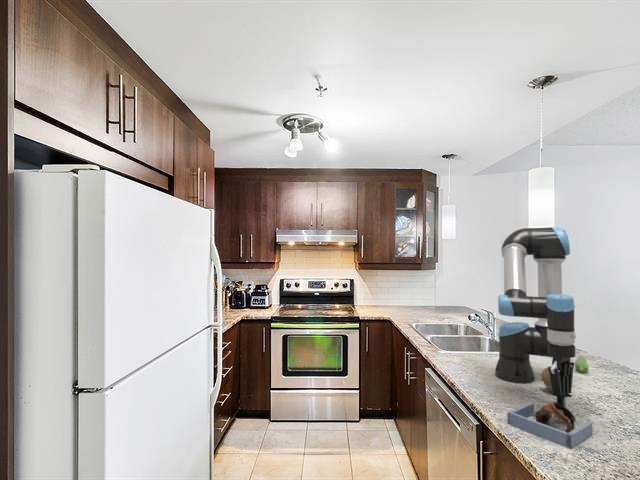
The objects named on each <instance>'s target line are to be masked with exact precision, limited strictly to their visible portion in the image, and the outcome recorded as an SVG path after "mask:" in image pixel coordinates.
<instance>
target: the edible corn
mask: <svg viewBox="0 0 640 480" xmlns="http://www.w3.org/2000/svg"><path fill="white" fill-rule="evenodd" d="M588 364H589V363H588V361H587V359H586V358H585V357H584V356H583V355H580V356H579V357H578V358H577V359H576V361H575V362H574V368H575V370H576V371H577V372H578V373H581V374H585V373H587V371H588V370H589V365H588Z"/></svg>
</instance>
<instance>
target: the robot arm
mask: <svg viewBox="0 0 640 480" xmlns="http://www.w3.org/2000/svg"><path fill="white" fill-rule="evenodd" d="M569 255H571V247H570V240H569V237H568V233H567V231H566V229H564V227H552V226H551V227H531V228H528V227H525V228H519V229H517V230H515V231H513V232H512V233H511V234H509V235H507V237H506V238H505V240H504V241H503V243H502V246H501V256H502V258H503V263H504V264H503V266H504V267H503V271H504V272H503V284H504V285H503V294H500V295H498V298H497V300H498V301H497V303H498V307H497V308H498V314H499V315H501V316H503V317H504V316H506V317H517V318H519V317H520V318H530V319H531V318H533V319H537V320H536V321H535V322H534V326H530V324H529V323H527V322H523V321H522V322H521V321H520V322H519V321H517V322H516V321H515V322H506V323H503V324H500V325H499V327H498V337H499V338H498V345H499V347H498V349H499V350H498V352H499V356H498V361H497V362H496V366H495V369H494V370H495V371H494V373H495V374H494V375H495V377H497V378H498V379H499V380H504V381H506V382H510V383H515V384H516V383H518V384H529V383H534V382H535V380H536V379H535V378H536V377H535V373H534V370H533V366H532V364H531V361H530V360H531V359H530V356H535V357H536V356H537V357H545V358H546V357H547V358H552V360H551V366H552V367H550V366H548V371H549V373H550V379H551V386H552V392H551V393H552V396H555V397H556V403H559V404H561V405H563V406H564V407H566V408H567V409H568V410H569V398H571V397H572V388H573V376H574V375H573V374H574V368H575V362H573V361H571V359H572V358H575V357H576V345H575V343H576V338H577V335H576V334H575V332H576V331H575V330H576V329H575V308H576V305H575V300H574V297H573V296H571V295H569V294H563V282H562V281H563V279H562V274H563V273H562V272H563V271H562V263H564V262H565V260H566V258H567V257H566V256H569ZM527 256H533V257H532V259H533V260H534V262H536V264H537V294H538V296H532V295H531V296H528V295H527V277H526V261H525V258H526V257H527ZM558 411H559V412H560V413H562V414H563V415H564V413H563V410H558ZM566 417H567V416H566Z"/></svg>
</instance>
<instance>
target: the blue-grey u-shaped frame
mask: <svg viewBox="0 0 640 480" xmlns="http://www.w3.org/2000/svg"><path fill="white" fill-rule="evenodd" d="M506 413H507V414H506V415H507V417H506V418H507V425H509V426H512V427H515V428H518V429H520V430H523V431H524V432H528V433H531V434H533V435H535V436H538V437H541V438H543V439H545V440H548V441H551V442H553V443H555V444H558V445H560V446H563V447H566V448H568V449H570V450H572V449H574V448H575V447H577V446H578V445H580V444H581V443H583V442H584V441H586V440H587V439H589V438H590V437H592V436H593V435H594V434H593V432H594V431H593V429H594V427H593V422H591V421H586V422H584V423H583V424H581V425H579V426H577V427H576V428H574V429H573V430H571V432H569V433H567V432H566V431H564V430H560V429H558V428H555V427H554V426H550V425H548V424H547V425H545V424H542V423H540V422H537V421H536V420H534V419H532V418H529V417H531V416H533V415H535V404H534V403H533V402H528V403H525V404H523V405H521V406H519V407H516V408H514V409H512V410H509V411H507V412H506Z"/></svg>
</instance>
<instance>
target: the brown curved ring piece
mask: <svg viewBox="0 0 640 480" xmlns="http://www.w3.org/2000/svg"><path fill="white" fill-rule="evenodd" d="M558 410H563V413H564V415H563V414H562V413H560V412H559V411H558ZM534 415H535V417H534V418H535V421H537V422H540V423H542V424H545V425H548V423H549V422H550V420H551V419H552V418H553V417H554V418H556V419H557V420H558V421H560V422H561V423H563V424H565V425H566V429H565V431H564V432H567V433H569V432H571V431H572V430H574V429H575V422H576V420H577V418H576V416H575V414H573V413H572V412H571V411H570V410H569V408H568V409H567V408H566V407H564V406H563V405H561V404H559V403H557V401H552V402H551V403H548V404H545V405H542V407H541V408H540V409H538V410H537V411H535V412H534ZM566 416H567V417H566Z"/></svg>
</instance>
